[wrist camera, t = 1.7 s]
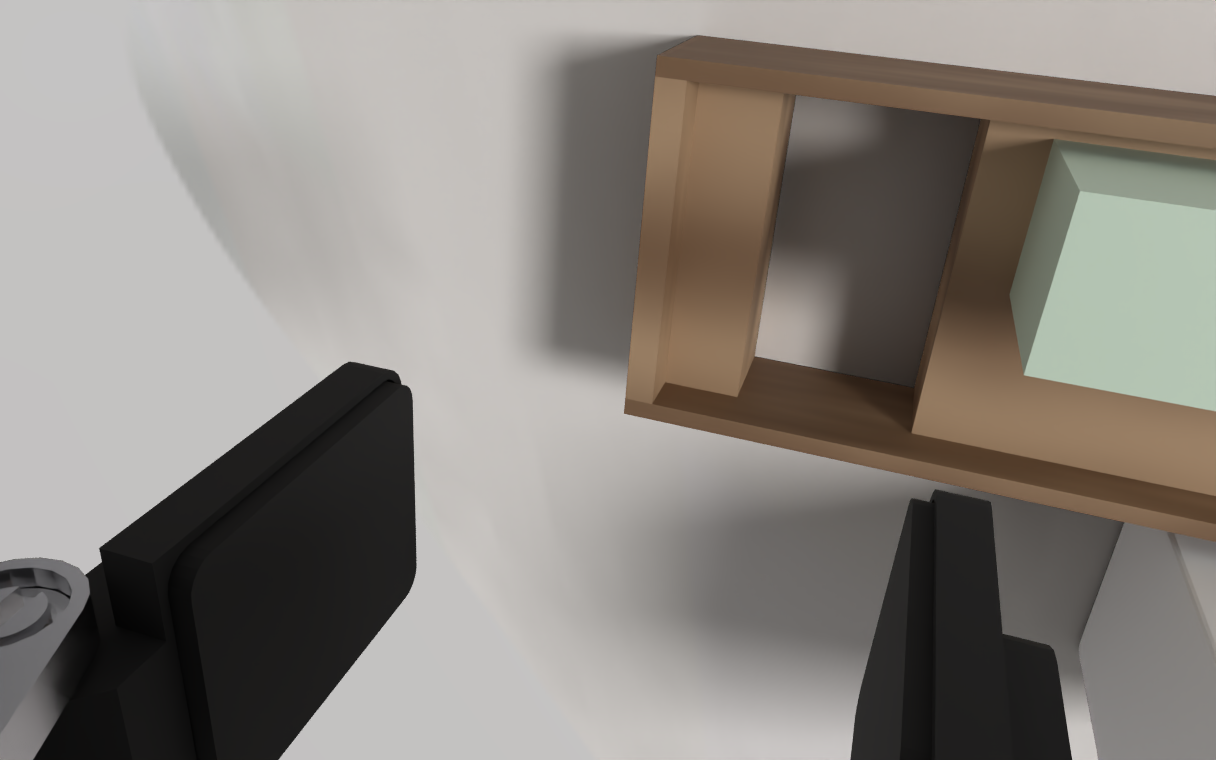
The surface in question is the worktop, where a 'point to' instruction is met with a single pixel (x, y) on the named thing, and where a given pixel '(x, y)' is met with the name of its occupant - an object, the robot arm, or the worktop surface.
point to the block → (1121, 274)
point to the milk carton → (1153, 649)
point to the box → (965, 304)
